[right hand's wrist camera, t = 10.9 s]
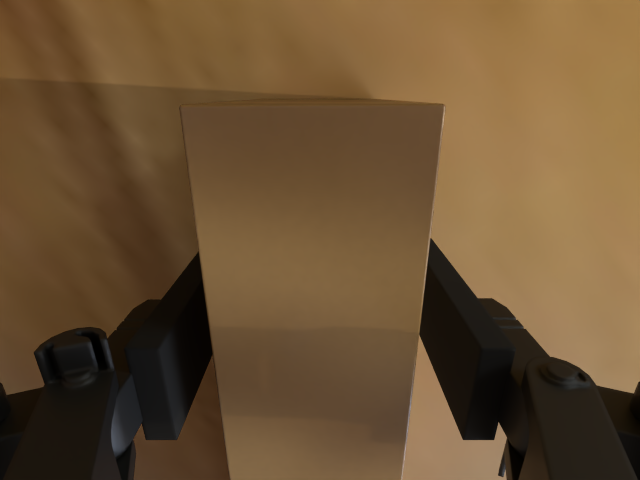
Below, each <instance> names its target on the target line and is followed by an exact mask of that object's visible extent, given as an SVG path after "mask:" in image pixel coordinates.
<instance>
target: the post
mask: <svg viewBox="0 0 640 480" xmlns="http://www.w3.org/2000/svg"><path fill="white" fill-rule="evenodd" d="M179 109H180V116H181V123H182V131H183V138H184V145H185V153H186V160H187V168H188V175H189V182H190V190H191V197H192V204H193V212H194V219H195V227H196V234H197V241H198V249H199V256H200V263H201V271H202V278H203V286H204V293H205V300H206V308H207V315H208V322H209V330H210V337H211V345H212V352H213V359H214V367H215V374H216V381H217V389H218V396H219V404H220V411H221V418H222V426H223V433H224V440H225V448H226V455H227V463H228V470H229V477H230V480H402V477H403V469H404V460H405V452H406V443H407V434H408V426H409V417H410V409H411V400H412V391H413V383H414V374H415V366H416V357H417V348H418V340H419V331H420V323H421V314H422V305H423V297H424V288H425V279H426V271H427V262H428V254H429V245H430V236H431V228H432V219H433V211H434V202H435V193H436V185H437V176H438V168H439V159H440V150H441V142H442V133H443V125H444V116H445V105H444V104H437V103H423V102H409V101H395V100H381V99H257V100H242V101H228V102H214V103H199V104H185V105H180V108H179Z"/></svg>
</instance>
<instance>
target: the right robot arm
mask: <svg viewBox="0 0 640 480" xmlns="http://www.w3.org/2000/svg"><path fill="white" fill-rule="evenodd" d="M419 335H420V337H421V340H422V342H423V344H424V347H425V349H426V352H427V354H428V356H429V359H430V361H431V364H432V366H433V369H434V371H435V373H436V376H437V378H438V381H439V383H440V385H441V388H442V390H443V393H444V395H445V398H446V400H447V402H448V405H449V407H450V410H451V412H452V414H453V417H454V419H455V422H456V424H457V427H458V429H459V431H460V434H461V436H462V439H463V440H494V438H495V434H496V430H497V426H498V422H499V423H500V425H501V427H502V429H503V431H504V432H505V434H506V436H507V440H506V444H505V448H504V452H503V456H502V460H501V464H500V468H499V473H498V476H501V477H503V476H504V472H505V469H506V477H507V480H640V382H638V385H637V387H636V390H635V392H634V394H633V393H628V392H624V391H619V390H614V389H610V388H605V387H600V386H597V385H596V384H595V383H594V381H593V380H592V379H591V377H590V376H589V375H588V374H587V373H585V372H584V371H583V370H581V369H580V368H579V367H577V366H575V365H573V364H571V363H569V362H567V361H564V360H561V359H557V358H554V357H550V356H549V355H548V354H547V353H546V352H545V351H544V350H543V348H542V347H541V346H540V345H539V344H538V343H537V342H536V340H535V339H534V338H533V337H532V336H531V335H530V334H529V332H528V331H527V330H526V329H524V328H523V326H522V324H521V323H520V322H519V321H518V320H516V318H515V316H514V315H513V314H512V313H511V312H510V311H509V310H508V308H507V307H505V306H503V305H502V304H500V303H499V302H497V301H495V300H494V299H492V298H477V297H476V296H475V294H474V293H473V292H472V291H471V289H470V288H469V287H468V285H467V284H466V283H465V281H464V280H463V279H462V278H461V276H460V275H459V274H458V272H457V271H456V270H455V269H454V267H453V266H452V265H451V263H450V262H449V261H448V259H447V258H446V257H445V256H444V254H443V253H442V252H441V250H440V249H439V248H438V247H437V245H436V244H435V243H434V241H433V240H432V239H431V238H430V245H429V254H428V262H427V271H426V279H425V288H424V297H423V305H422V314H421V323H420V331H419ZM212 354H213V352H212V345H211V337H210V330H209V322H208V315H207V308H206V300H205V293H204V286H203V278H202V271H201V263H200V256H199V252H198V253H197V254H196V256H195V257H194V258H193V259H192V261H191V262H190V263H189V265H188V266H187V267H186V268H185V270H184V271H183V272H182V274H181V275H180V276H179V278H178V279H177V280H176V281H175V283H174V284H173V285H172V287H171V288H170V289H169V290H168V292H167V293H166V294H165V296H164V297H163V298H162V300H147V301H145V302H144V303H142V304H140V305H139V306H137V307H135V308H134V309H133V310H132V311H131V312H130V313H129V315H128V316H127V317H126V318H125V319H124V321H122V323H121V324H120V325H119V326H118V327H117V330H115V331H114V332H113V333H112V334H111V335H110V336H109V338H108V339H107V336H106V333H105V332H104V331H103V330H101V329H99V328H93V327H85V328H77V329H73V330H69V331H65V332H63V333H61V334H58V335H56V336H54V337H51V338H50V339H48V340H47V341H45V342H44V343H42V344H41V345H40V346H39V347H38V348H37V349H36V351H35V352H34V355H35V358H36V361H37V364H38V366H39V369H40V372H41V375H42V378H43V381H44V383H45V385H44V387H42V388H38V389H33V390H29V391H24V392H19V393H15V394H10V395H6V392H5V390H4V387H3V385H2V383H0V480H133V478H134V468H135V458H136V450H135V444H134V441H133V438H134V436H135V434H136V432H137V431H138V429H139V427H140V425H141V423H142V426H143V430H144V434H145V438H146V440H177V439H178V436H179V434H180V431H181V429H182V426H183V424H184V422H185V419H186V417H187V414H188V412H189V410H190V407H191V405H192V402H193V400H194V398H195V395H196V393H197V390H198V388H199V385H200V383H201V381H202V378H203V376H204V373H205V371H206V369H207V366H208V364H209V361H210V359H211V356H212Z"/></svg>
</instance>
